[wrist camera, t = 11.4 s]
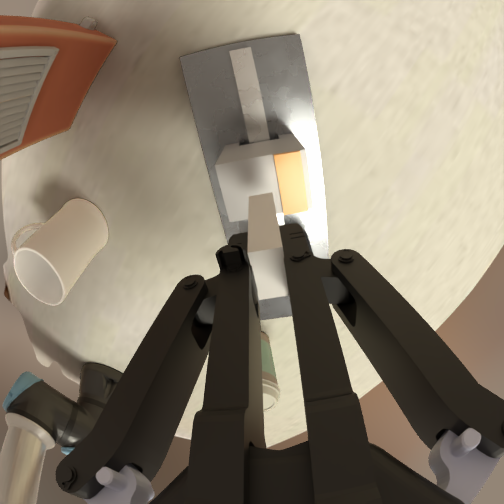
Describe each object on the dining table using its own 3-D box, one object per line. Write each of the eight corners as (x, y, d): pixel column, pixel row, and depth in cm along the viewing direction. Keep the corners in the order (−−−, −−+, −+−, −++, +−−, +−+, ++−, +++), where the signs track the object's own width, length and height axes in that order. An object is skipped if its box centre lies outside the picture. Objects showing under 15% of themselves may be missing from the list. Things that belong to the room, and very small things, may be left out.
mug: (43, 228, 34) (-3, 274, 24) (48, 180, 30) (-8, 221, 20) (102, 260, 37) (65, 318, 27) (115, 213, 33) (68, 268, 23)
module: (299, 177, 29) (314, 210, 22) (235, 188, 30) (229, 224, 23) (292, 133, 26) (306, 150, 19) (225, 145, 27) (214, 166, 20)
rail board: (328, 273, 38) (343, 322, 30) (242, 286, 39) (239, 337, 31) (297, 36, 22) (315, 15, 14) (182, 58, 23) (152, 47, 15)
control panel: (38, 119, 25) (90, 16, 18) (71, 142, 27) (130, 34, 21) (-91, 183, 7) (-54, 0, 1) (-63, 224, 9) (-24, 9, 3)
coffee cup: (240, 317, 42) (236, 384, 32) (287, 334, 45) (293, 397, 34) (218, 346, 46) (211, 406, 36) (261, 360, 49) (261, 418, 39)
